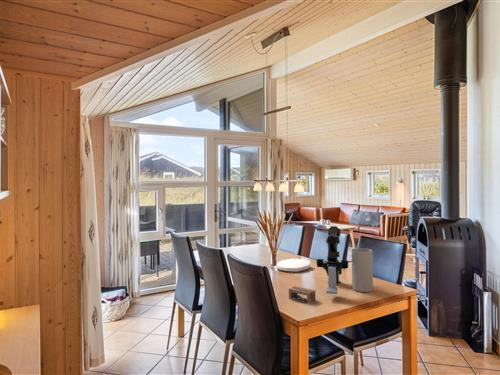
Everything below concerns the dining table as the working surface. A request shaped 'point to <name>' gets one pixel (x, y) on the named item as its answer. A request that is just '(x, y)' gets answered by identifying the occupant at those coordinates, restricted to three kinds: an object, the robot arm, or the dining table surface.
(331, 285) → the tall grey prism
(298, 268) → the plate
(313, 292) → the brown hollow brick
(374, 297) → the dining table surface
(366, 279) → the cylinder vase
